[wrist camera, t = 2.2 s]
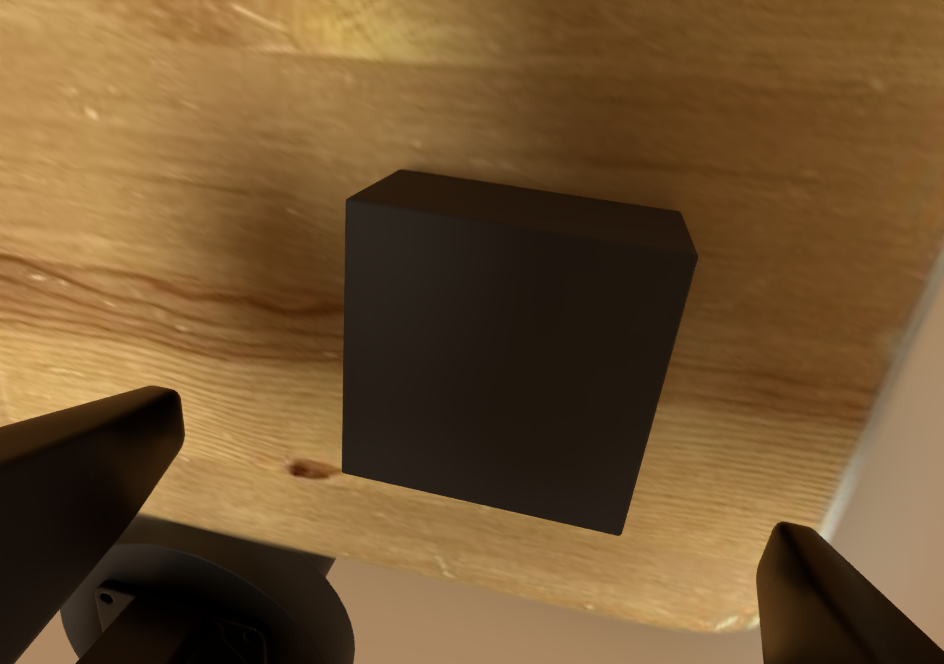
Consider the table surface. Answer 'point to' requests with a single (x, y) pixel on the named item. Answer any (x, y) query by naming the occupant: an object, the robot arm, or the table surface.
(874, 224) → the table surface
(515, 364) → the black pad
